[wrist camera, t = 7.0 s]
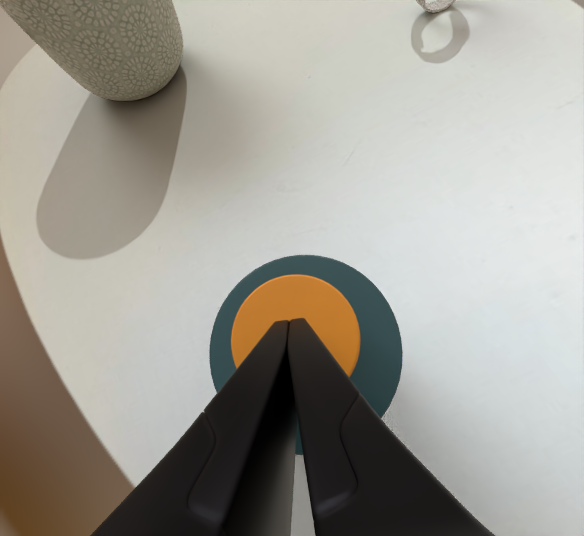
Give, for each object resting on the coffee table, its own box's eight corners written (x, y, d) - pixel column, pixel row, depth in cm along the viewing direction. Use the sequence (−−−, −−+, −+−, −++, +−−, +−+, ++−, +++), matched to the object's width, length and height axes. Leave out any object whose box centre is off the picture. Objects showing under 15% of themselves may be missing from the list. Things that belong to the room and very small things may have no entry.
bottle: (378, 415, 18) (431, 463, 8) (261, 418, 19) (189, 466, 9) (363, 299, 20) (391, 235, 11) (260, 306, 21) (202, 252, 12)
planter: (155, 19, 34) (79, -134, 24) (223, 64, 30) (168, -95, 20) (66, 84, 32) (-58, -51, 22) (127, 141, 28) (10, 10, 18)
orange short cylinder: (363, 400, 9) (369, 405, 8) (243, 404, 10) (228, 410, 8) (349, 282, 10) (353, 268, 9) (244, 290, 11) (231, 278, 9)
